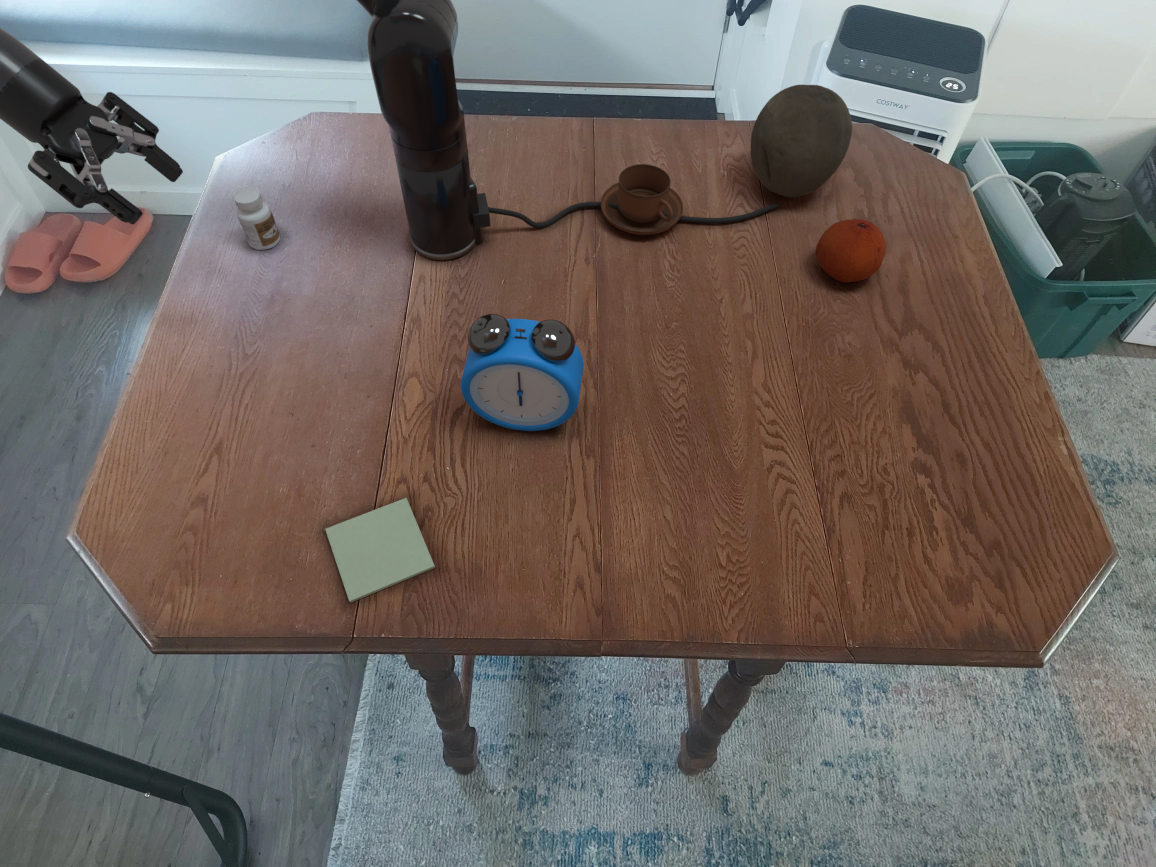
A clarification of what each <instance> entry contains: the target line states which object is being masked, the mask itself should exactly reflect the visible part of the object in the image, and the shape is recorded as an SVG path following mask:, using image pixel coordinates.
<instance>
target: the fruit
mask: <svg viewBox="0 0 1156 867" xmlns="http://www.w3.org/2000/svg"><path fill="white" fill-rule="evenodd" d="M886 253H887V242H886V239H885V237H884V234H883V233H882V231H881V229H879V227H878V226H876V224H874V223H873V222H871V221H869V220H866V219H861V218H852V219H844V220H839V221H837V222H835V223H833V224H832V225H830V226H829V227H828V228H827V229H826V230H825V231H824V232H823V233H822V234H821V236H820V238H819V239H818V241H817V243H816V247H815V257H816V259H817V262H818V264H819V267H821V269H822V270H823V271H824V272H825V273H826V274H827V275H828V276H829V277H831V278H833V279H834V280H836V281H838V282H841V283H854V282H855V283H856V282H860V281H863V280H866V279H868V278H870V277H871V276H873V275H874V274H876V272H878V271H879V270H880V268H881V267H882V265H883V261H884V258H885V256H886Z"/></svg>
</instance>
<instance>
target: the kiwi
mask: <svg viewBox="0 0 1156 867" xmlns="http://www.w3.org/2000/svg"><path fill="white" fill-rule="evenodd" d="M852 134H853V120H852V115H851V113H850V110H849V107H848V106H847V104H846V102H845V100H844V99H843V98H842V96H840V95H839V94H838V93H836V92H835V91H834V90H832V89H831V88H829V87H825V86H822V85H818V84H795V85H791V86H789V87H785V88H783V89H781V90H780V91H778V92H777V93H775V94H774V95H772V96H771V98H770V99H769V100H768V101H767V102H766V103H765V105H763V107H762V109H761V110H760V112H759V114H758V115H757V116H756V120H755V121H754V124H753V128H752V132H751V136H750V152H749V153H750V161H751V165H752V169H753V171H754V174H755V175H756V177H757V179H758V180H759V181H760V183H761V184H762V185H763V187H765V188H766V190H769V191H770V192H772V193H774V194H777V195H779V196H782V197H787V198H792V199H793V198H801V197H804V196H807V195H808V194H811V193H812V192H814V191H816V190H817V189H819V188H821V187H822V186H823V185H824V184H826V182H827V181H829V179H831V177H832V176H833V175H834V174H835V173H836V172H837V170H838V169H839V168H840V166H841V165H842V162H843V161H844V159H845V157H846V155H847V152H848V150H849V147H850V143H851V140H852V136H853V135H852Z"/></svg>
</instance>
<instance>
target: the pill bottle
mask: <svg viewBox="0 0 1156 867" xmlns="http://www.w3.org/2000/svg"><path fill="white" fill-rule="evenodd" d="M232 198H233V201H234V204H235V206H236V208H237V209H236V217H237V220H238V222H239V225H240V227H241V229H242V232H243V233H244V235H245V238H246V240H247V243H248V245H249V247H251V248H253V249H255V250H257V251H258V250H259V251H265V250H270V249H272V248H274V247H276V246H277V245H278V244H279V242H280V240H281V234H280V231H279V228H278V226H277V222H276V220H275V217H274V215H273V211H272V209H271V207H270V205H269V204H268V203H267V202H266V201H265V200H264V199H263V196H262V194H261V191H260V190H259V189H258V188H256V187H254V186H244V187H241V188H239V189H238V190H236V191H235V192H234V194H233V197H232Z"/></svg>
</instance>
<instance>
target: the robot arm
mask: <svg viewBox="0 0 1156 867" xmlns="http://www.w3.org/2000/svg"><path fill="white" fill-rule="evenodd" d="M355 1H356V2H357V3H358V4H359V5H360V6H361V8H363V10H364V11H365V12H366V13H367V14H368V15H369V16H370V18H371V20H370V23H369V26H368V29H367V35H366V47H367V55H368V61H369V65H370V70H371V75H372V80H373V84H374V88H375V92H376V97H377V100H378V105H379V109H380V112H381V115H382V117H383V120H384V121H385V123H386V124H387V126H388V129H389V130H388V131H389V134H390V138H391V144H392V149H393V154H394V159H395V164H396V169H397V174H398V179H399V185H400V190H401V194H402V200H403V205H404V210H405V215H406V220H407V225H408V231H409V238H410V244H411V246H412V248H413V250H414V251H415V252H416V253H417V254H419V255H420V256H422V257H424V258H427V259H430V260H434V261H449V260H455V259H458V258H460V257H463V256H464V255H466V254H468V253H469V252H470V251H472V249H473V248H474V247H475V246H476V245H478V244H482V242H483V236H482V228H489V227H491V218H490V214H495V215H502V216H508V217H513V218H516V219H520V220H521V221H523V222H524V223H525V224H527V225H528V226H530V227H532V228H534V229H543V228H546V227H549V226H551V225H553V224H555V223H556V222H558V221H560V220H561V219H562V218H564V217H565V216H567V215H568V214H570V213H572V212H575V211H577V210H580V209H587V208H596V209H597V208H598V209H599V208H600V209H601V201H587V202H578V203H575V204H572V205H570V206H568V207H566V208H565V209H563V210H562V211H560V212H559V213H558V214H556V215H555V216H553V217H552V218H549V219H548V220H545V221H542V222H541V221H540V222H539V221H538V222H535V221H533V220H532V219H531V218H530V217H528V216H526V215H525V214H523V213H522V212H519V211H518V212H517V211H514V210H509V209H505V208H504V209H503V208H496V207H491V206H489V204H488V200H487V194H486V193H485V192H479V193H478V186H477V184H476V183H475V181H474V180H473V178H472V176H471V167H470V159H469V148H468V140H467V129H466V122H465V112H464V107H463V104H462V103H461V101H460V100H459V96H458V90H457V89H458V88H457V82H456V73H455V71H456V70H455V60H454V54H455V49H456V45H457V39H458V35H459V34H458V33H459V19H458V14H457V11H456V8H455V6H454V3H453V2H452V0H355ZM0 120H1V121H2V122H4V123H5V124H6V125H7V126H9V127H10V128H12V129H13V130H14V131H16V132H17V133H18V134H20V135H21V136H22V137H23V138H25V139H26V140H27V141H29V142H31V143H34V144H38V145H40V146H41V147H42V149H43V150H36V151H34V153H33V155H32V157H31V159H30V160H29V162H28V164H27V169H28V170H29V171H30V172H31V173H32V174H33V175H34V176H36V177H37V178H38V179H40V180H41V181H42V182H43V183H45V185H47V186H48V187H50V188H51V189H52V190H53V191H54V192H56V193H57V194H58V195H60V196H61V197H62V198H63V199H64V200H66V201H67V202H68V203H70V204H71V206H73V207H74V208H76V209H83V208H85V206H87V205H91V204H97V205H100V206H101V207H102V208H104V209H105V210H106V211H107V212H109V213H110V214H111V215H113V216H114V217H116V218H117V219H118V220H119V221H121V222H123V223H126V224H127V223H128V224H130V225H135V224H136V223H137V222H138V221H139V220H140V218H142V216H143V211H142V210H141V209H140V208H139V207H137V206H136V205H135V204H133V203H132V202H131V201H129V200H128V198H127V199H126V197H124V196H123V195H121V194H120V193H119V192H118V191H116V190H115V189H114V188H113V187H112V188H110V189H109V188H108V185H107V183H106V180H105V178H104V176H103V174H102V164H103V163H104V161H106V160H107V159H108V160H109V159H110V158H111V157H112V156H113V155H114V154H115V153H117V154H121V155H122V154H131V155H134V156H135V155H136V156H139V157H144V161H145V162H146V163H147V164H148V165H149V166H151V167H152V168H153V169H154V170H156V171H157V172H158V173H159V174H160V175H162V176H163V177H165V179H167V180H168V181H169V182H171V183H176V181H178V179H179V178H180V177H181V176H182V174H183V173H184V171H183V168H181V165H180V164H179V162H178V161H176V160H175V159H174V158H173V157H171V156H170V155H169V154H168V153H166V151H165V150H163V149H162V148H160V147H159V145H158V144H157V142H156V140H157V135H158V134H159V132H160V128H159V127H158V126H157V125H156V124H155V123H153V121H150V120H149V119H148V118H147V117H146V116H144V115H143V114H141V113H140V112H139V111H137V109H135V108H134V107H133V106H131V104H129V103H127V102H126V101H125V100H124V99H122V98H121V97H120V96H118V95H117V94H116V93H114V92H112V91H107V92H106V93H105V95H104V96H103V98H102V100H101V101H100V103H99V104H98V105H94V104H93V103H90V102H88V101H87V100H86V99H85V98H84V97H83V95H82V93H81V91H80V89H79V88H78V87H77V86H75V84H73V83H72V82H71V81H69V80H68V79H67V78H65V77H64V75H62V74H61V73H60V72H58V70H56V69H55V68H53V67H52V66H51V65H50V64H49V63H47V62H46V61H45V60H44V59H42V58H41V57H40V56H39V55H38V54H36V53H35V52H34V51H32V50H31V49H30V48H28V47H27V46H26V45H25V44H24V43H23V42H22V41H21V40H19V39H17V38H16V36H13V35H12V34H10V33H9V32H8V31H6V30H4V29H3V28H1V27H0ZM112 121H113V122H112ZM118 137H119V138H118ZM61 163H66V164H69V166H70V168H71V170H72V172H73V174H74V175H73V174H72V173H71V172H70V171H68V170H67V169H66V168H65V167H63V166H62V164H61ZM608 206H610V207H611V208H614V209H616V210H619V209H618V206H617V205H615V204H608ZM776 209H778V204H777V203H772V204H769V205H766V206H764V207H761V208H759V209H756V210H754V211H752V212H748V213H745V214H741V215H735V216H727V217H698V216H687V215H681V217H680V219H679V221H678V222H682V223H683V222H684V223H692V224H693V223H694V224H695V223H696V224H711V225H713V224H728V223H729V224H730V223H735V222H736V223H737V222H742V221H745V220H749V219H752V218H755V217H757V216H760V215H762V214H765V213H768V212H771V211H773V210H776ZM619 211H620V210H619ZM663 215H664V216H666V217H668V216H669V214H665V213H664V214H663ZM673 217H675V215H673ZM673 217H672V218H673ZM659 218H661V217H659Z"/></svg>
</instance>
